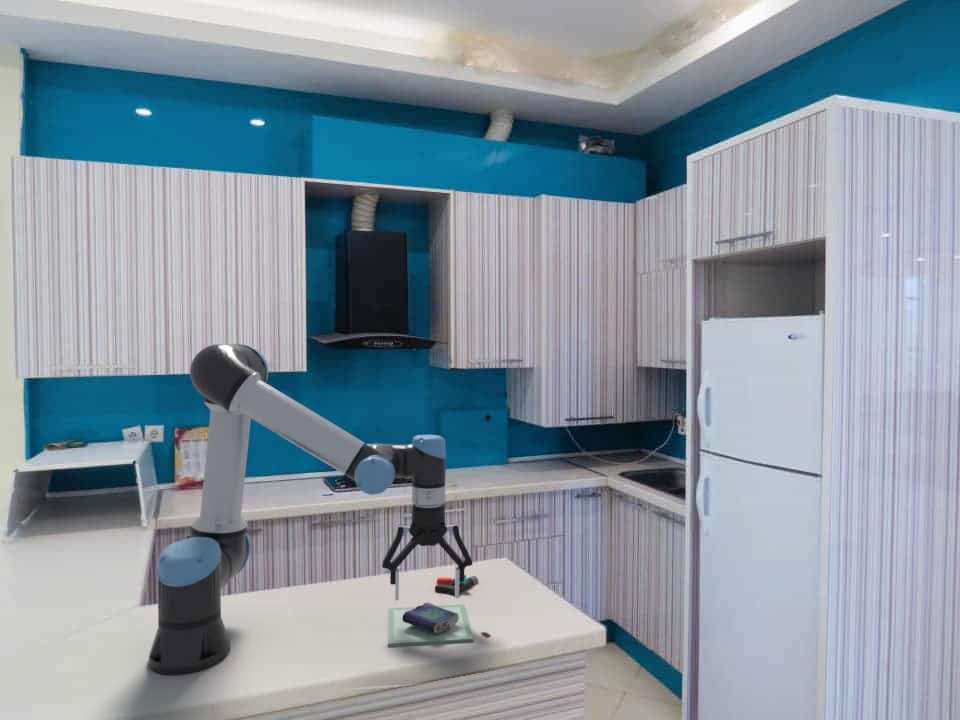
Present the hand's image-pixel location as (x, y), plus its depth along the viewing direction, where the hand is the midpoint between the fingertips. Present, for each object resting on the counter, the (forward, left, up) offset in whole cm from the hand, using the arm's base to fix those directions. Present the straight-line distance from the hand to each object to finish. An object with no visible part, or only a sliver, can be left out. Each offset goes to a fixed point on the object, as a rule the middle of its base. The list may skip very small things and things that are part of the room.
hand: (427, 597), depth 143 cm
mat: (0, -1, -6) cm, 6 cm away
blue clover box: (-2, -1, -6) cm, 7 cm away
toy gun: (+8, +21, -7) cm, 23 cm away
